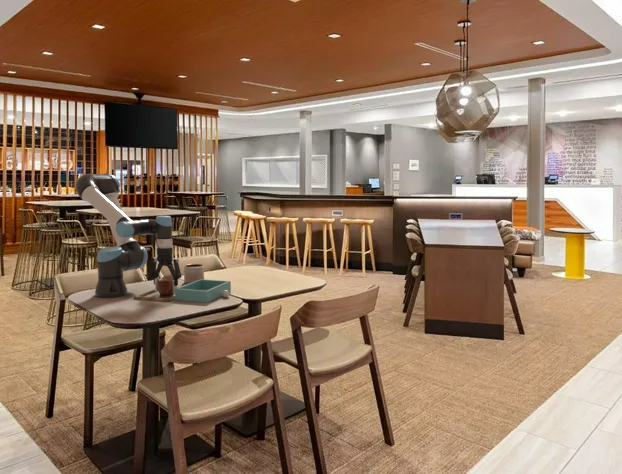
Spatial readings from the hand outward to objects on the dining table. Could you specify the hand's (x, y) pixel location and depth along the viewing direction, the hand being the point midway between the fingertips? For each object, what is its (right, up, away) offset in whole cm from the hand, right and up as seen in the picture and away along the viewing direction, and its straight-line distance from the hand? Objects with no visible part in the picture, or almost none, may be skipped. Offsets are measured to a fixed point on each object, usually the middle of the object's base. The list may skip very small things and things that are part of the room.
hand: (166, 291), depth 264 cm
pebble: (+31, -2, -5) cm, 31 cm away
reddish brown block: (0, -2, +1) cm, 2 cm away
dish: (+19, -2, -1) cm, 19 cm away
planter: (+7, +2, +31) cm, 32 cm away
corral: (0, -2, 0) cm, 2 cm away
